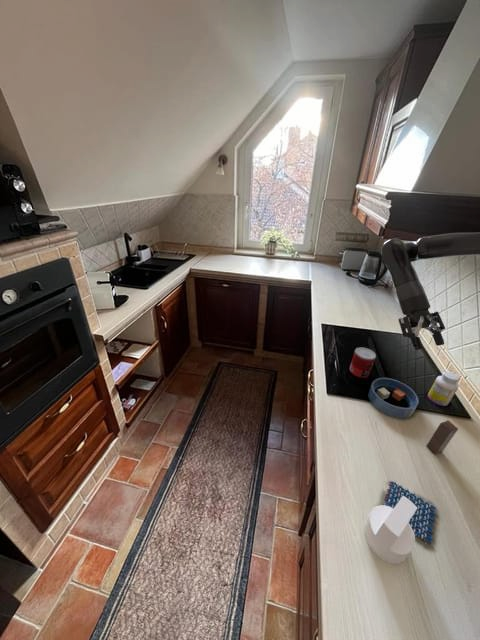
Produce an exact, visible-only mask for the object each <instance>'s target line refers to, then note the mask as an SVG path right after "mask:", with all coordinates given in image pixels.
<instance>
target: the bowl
mask: <svg viewBox="0 0 480 640" xmlns="http://www.w3.org/2000/svg"><path fill="white" fill-rule="evenodd" d="M381 388H385V389H386V390H387V391H389V392H393V391H395V390H397V389H400V390H401V391H402V392H404V393H405V394H406V395H405V397H404V399H403V400H404V401H405V402H406V403H407V405H408V407H400V406H397V405H393V404H391V403H389V402H387V401H385V399H383V400H382V399H381V398H380V397H379V396H378V395H377V394H376V393H377V390H378V389H381ZM367 396H368V397H367V398H368V399H369V401H370V403H371V404H372V406H374V407H375V408H376V409H377V410H378V411H380V412H382V413H383V414H385V415H388V416H389V417H393V418H397V419H407V418H409V417H411V416H413V415H414V413H415V411H416V410H417V407H418V405H419V404H420V402H419V397H418V395H417V393H416V392H415V391H414V389H412V388H411V387H410V386H409V385H407V384H406V383H403V382H402V381H399V380H398V379H394V378H390V377H378V378H376V379H374V380H373V381H372V382H371V384H370V387H369V389H368V394H367Z"/></svg>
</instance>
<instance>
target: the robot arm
mask: <svg viewBox="0 0 480 640" xmlns="http://www.w3.org/2000/svg"><path fill="white" fill-rule="evenodd" d="M380 255H381V258H382V259H383V262H384V264H385V266H386V268H387V271H388V272H389V275H390V280H391V283H392V285H393V288H394V291H395V296H396V299H397V302H398V304H399V307H400V310H401V313H402V315H404V316H402V317H399V318H398V323H399V324H398V325H399V326H400V331H401V333H402V336H403V338H408V339H410V341H411V344H412V347H413V348H414V350H415V351H419V350H423V349H424V346H423V344H422V340H421V337H420V336H419V335H420V331H421V330H422V329H425V330H427V331H429V332H430V333H431V335H432V338H433V341H434V343H435V345H436V346H437V347H439V346H443V345H445V339H444V336H443V334H442V332H443V330H446V325H445V324H444V322H443V319H442V317H441V315H440V313H439V311H432V312H430V310H429V309H431V304H430V301H429V299H428V296H427V293H426V291H425V289H424V286H423V284H422V283H421V281H420V278H419V276H418V273H417V271H416V269H415V267H414V265H413V264H412V263H414V262H417V261H422V260H434V259H444V258H455V257H466V256H467V257H468V256H480V231H479V232H449V233H442V234H433V235H428V236H427V235H426V236H423V237H420V238H418V239H417V240H415V241H410V242H405V241H403V240H402V239H400V238H396V237H395V238H390V239H388V240H386V241H385V242H384V243H383V244H382V246H381V248H380ZM438 325H439V326H438Z"/></svg>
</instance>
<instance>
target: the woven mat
mask: <svg viewBox="0 0 480 640" xmlns="http://www.w3.org/2000/svg"><path fill="white" fill-rule="evenodd" d="M388 486H389V487H388V488H387V489H386V490H387V491H388V492H387V493H386V494H385V496H384V501H385V502H384V504H382V505H385V506H389V507H391V508H393V509H394V507H395V506H396V504H397V503H398V502H399V500H400V499H401V498H402V496H405V497H406V498H407V499H409V500H410V501H411V502H412V503H413V504H414V505H415V506H416V507H417V510H416V511H415V513H414V514H413V516H412V517H411V519H410V520H409V522H408V523H409V524H410V526H411V528H412V530H413V532H414V536H415V537H418V538H419V539H421V540H422V541H424V543H425V544H426V545H431V542H432V540H433V537H432V534H433V533H434V531H433V528H434V527H435V525H434V521H435V516H436V513H435V510H436V509H437V507H435V506H434V505H432V504H431V503H429V501H428V500H427V501H426V500H425V499H422V497H421V496H418V495H416V493H413V492H412V491H411V490H410V491H409V489H408V488H407V489H406V487H402V486H403V485H402V484H400V485H399V483H397V482H396V481H392V480H391V481H389V483H388Z"/></svg>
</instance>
